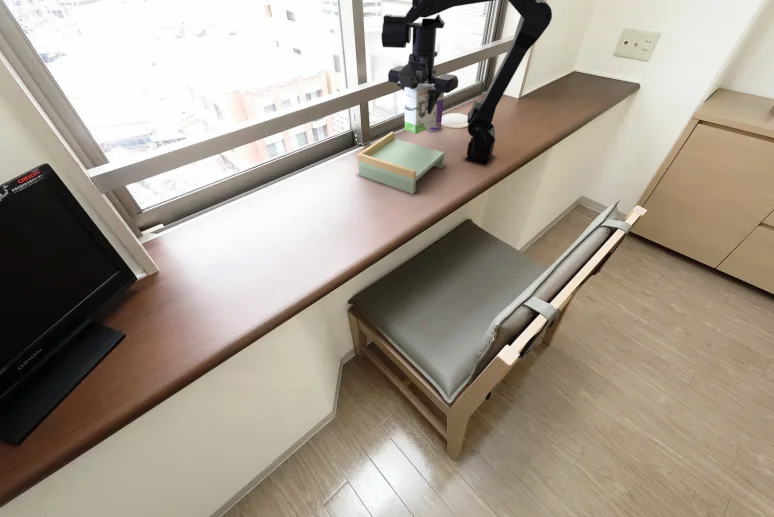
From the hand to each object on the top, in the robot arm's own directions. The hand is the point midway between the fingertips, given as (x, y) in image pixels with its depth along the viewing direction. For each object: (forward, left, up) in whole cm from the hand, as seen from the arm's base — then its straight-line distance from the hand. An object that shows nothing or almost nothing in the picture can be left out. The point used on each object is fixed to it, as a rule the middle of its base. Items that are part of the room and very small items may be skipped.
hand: (420, 111), depth 96 cm
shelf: (-1, +11, -13) cm, 17 cm away
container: (+5, -19, -13) cm, 24 cm away
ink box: (0, 0, -5) cm, 5 cm away
